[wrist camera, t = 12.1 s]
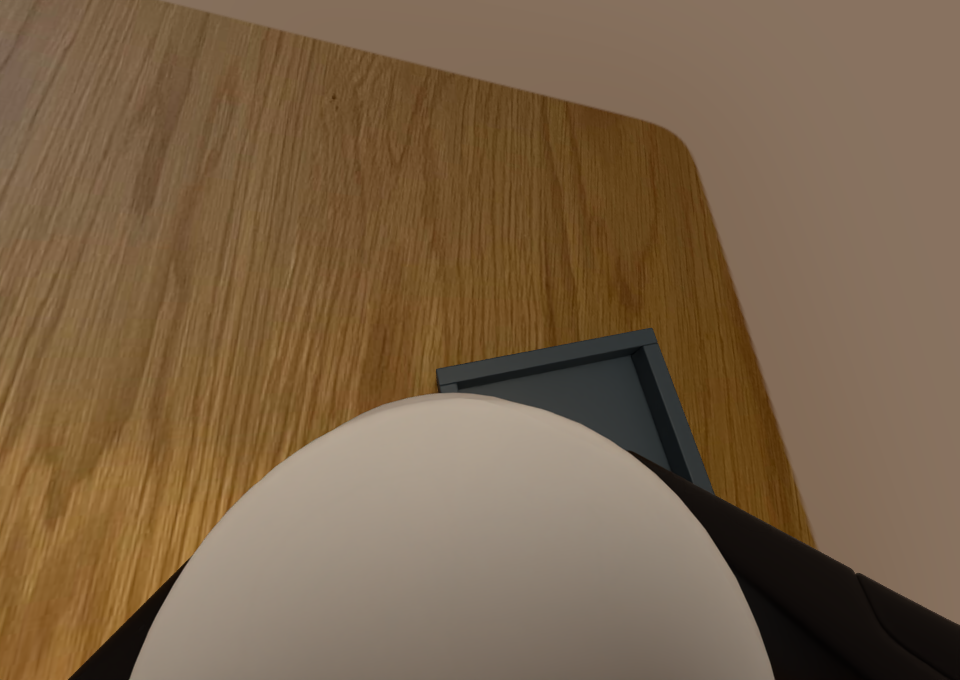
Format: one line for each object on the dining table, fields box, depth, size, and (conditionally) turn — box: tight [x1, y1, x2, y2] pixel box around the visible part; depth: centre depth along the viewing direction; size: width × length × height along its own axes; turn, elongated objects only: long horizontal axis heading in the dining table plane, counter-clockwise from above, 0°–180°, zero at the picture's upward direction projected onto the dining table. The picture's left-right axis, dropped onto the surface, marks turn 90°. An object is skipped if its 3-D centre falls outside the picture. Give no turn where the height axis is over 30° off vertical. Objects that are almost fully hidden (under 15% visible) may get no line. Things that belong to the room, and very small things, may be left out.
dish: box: [436, 328, 715, 495], centre depth 20 cm, size 14×11×2 cm
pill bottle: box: [129, 393, 775, 680], centre depth 8 cm, size 6×6×11 cm
